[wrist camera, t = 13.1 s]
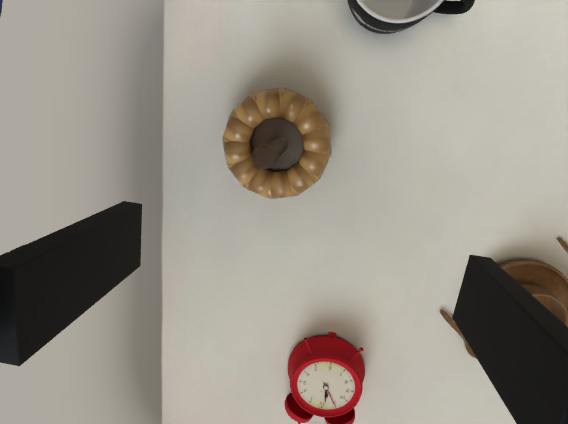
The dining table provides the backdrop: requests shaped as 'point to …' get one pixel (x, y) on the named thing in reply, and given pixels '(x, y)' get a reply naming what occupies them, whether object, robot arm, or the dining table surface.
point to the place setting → (535, 287)
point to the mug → (401, 12)
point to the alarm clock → (324, 380)
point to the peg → (276, 145)
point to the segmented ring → (292, 110)
